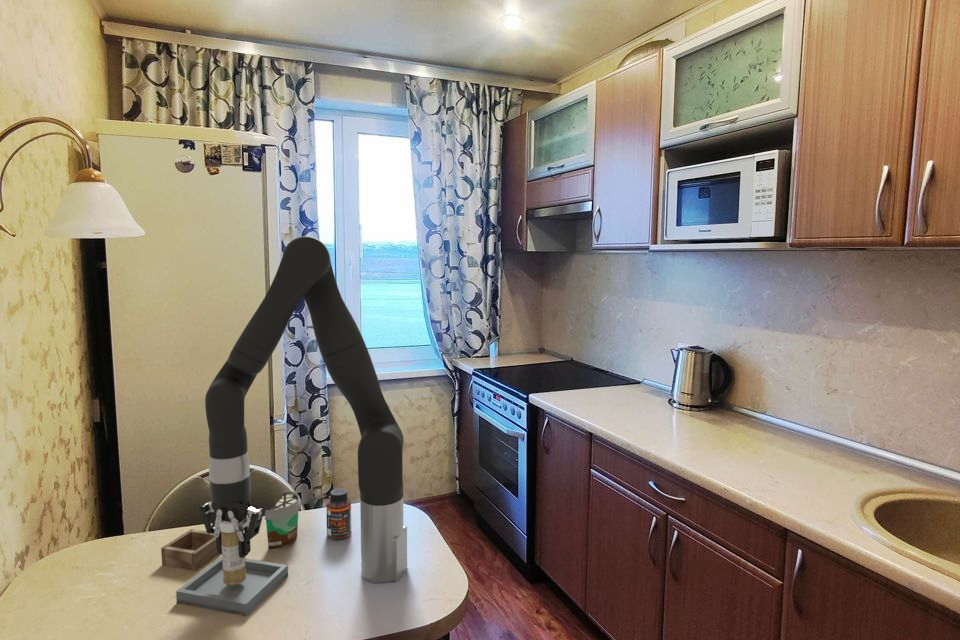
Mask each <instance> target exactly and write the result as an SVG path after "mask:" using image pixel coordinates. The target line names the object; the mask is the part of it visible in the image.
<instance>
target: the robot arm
mask: <svg viewBox="0 0 960 640" xmlns="http://www.w3.org/2000/svg"><path fill="white" fill-rule="evenodd" d="M331 261H332V260H331V255H330V252H329V249H328V247H326V245H325V244H324V243H323V242H322V241H321V240H319V239H318V238H316V237H314V236H307V235H306V236H298V237H296V238H294V239H292V240H291V241H290V242H288V244H286V246H285V248H284V250H283V253H282V257H281V261H280V262H279V265H278V268H277V271H276V273H275V275H274V278H273V280H272V283H271V284H270V287H269V288H268V290H267V291H266V294H265V296H264V298H263V299H262V301H261V303H260V304H259V306H258V307H257V308H256V311H255V312H254V313H253V315H252V317H251V318H250V320H249V321H248V323H247V325H246V326H245V328H244V329H243V331H242V332H241V334H240V335H239V337H238V338H237V340H236V342H235V344H234V345H233V347H232V349H231V351H230V353H229V355H228V358H227V359H226V361H225V363H224V364H223V365H222V367H221V368H220V370H219V371H218V372H217V374H216V375H215V377H214V379H213V380H212V381H211V383H210V385H209V387H208V389H207V391H206V393H205V398H204V403H205V407H204V408H205V414H206V417H205V418H206V421H207V427H208V432H209V433H208V448H209V449H208V451H209V461H208V479H209V495H210V496H209V497H210V500H211V501H210V500H209V501H207V502H206V503H204V504H202V505H201V506H199V511H200V515H201V518H202V523H203V525H204V528H205V531H206V532H207V533H208V534H210V533H212V534H214V536H215V537H216V548H217V551H218V555H221V556H222V539H221V531H220V523H221V522H222V521H228V522H232V524H233V528H234V531H236V532H237V535H238V538H239V540H240V541H239V557H240V558H244V557H247V556H248V555H249V554H250V552H251V550H252V549H251V547H252V546H251V540H252V539H253V538H254V537H256V536H257V535H258V534H259V533H260V529H261V524H262V521H263V518H264V514H265V509H264V508H262V507H260V508H257V509H256V508H255V507H253V506H252V503H251V502H250V495H251V490H252V489H251V488H252V487H251V471H250V470H251V467H250V464H251V463H250V458H249V453H248V452H249V451H248V434H247V428H246V426H245V398H246V396H247V393H248V391H249V390H250V388H251V387H252V385H253V383H254V381H255V379H256V377H257V375H258V374H259V373H261V371H263V369H264V368H265V366H266V364H267V363H268V362H269V359H270V358H271V357H272V355H273V353H274V352H275V350H276V348H277V346H278V344H279V342H280V340H281V338H282V337H283V335H284V333H285V330H286V329H287V327H288V325H289V322H290V320H291V318H292V316H293V314H294V313H295V311H296V309H297V307H298V306H299V305H300V303H301V301H302V300H304V302H305V304H306V307H307V309H308V311H309V315H310V319H311V320H310V321H311V324H312V328H313V333H314V337H315V340H316V343H317V346H318V350H319V352H320V355H321V357H322V360H323V363H324V365H325V367H326V369H327V372H328V374H329V376H330V378H331V380H332V382H333V383H334V385H335V386H336V387H337V389H338V390H339V391H340V393H341V394H342V395H343V397H344V398H345V400H346V401H347V402H348V404H349V405H350V408H351V409H352V413H353V415H354V416H355V421H356V422H357V426H358V429H359V433H360V434H359V435H360V437H361V438H360V440H359V442H358V443H359V444H358V448H357V473H358V474H357V477H358V489H359V498H360V501H359V502H360V503H359V504H360V505H359V506H360V557H361V558H360V560H361V562H360V568H361V576H362V578H363V579H365V580H366V581H369V582H371V583H376V584H377V583H380V584H381V583H387V582H388V583H389V582H397V581H399V579H400V578H401V577H402V575H403V574H404V572H405V570H406V569H407V568H408V527H407V526H405V525H404V524H405V523H404V478H403V477H404V476H403V474H404V473H403V466H404V465H403V449H404V441H405V440H404V435H403V431H402V430H401V427H400V425H399V424H398V421H396V418H395V417H394V415H393V413H392V411H391V409H390V406H389V405H388V402H386V399H385V397H384V395H383V391H382V389H381V385H380V382H379V378H378V375H377V372H376V370H375V365H374V363H373V360H372V357H371V355H370V352H369V350H368V347H367V345H366V342H365V340H364V337H363V336H362V335H363V334H362V333H361V331H360V328H359V327H358V325H357V323H356V321H355V318H354V317H353V315H352V313H351V312H350V310H349V308H348V307H347V305H346V303H345V301H344V300H343V297H342V295H341V291H340V290H339V286H338V284H337V280H336V277H335V272H334V269H333V266H332V262H331ZM243 520H244V523H243V524H241V525H239V523H240V522H242V521H243ZM243 529H244V532H243Z"/></svg>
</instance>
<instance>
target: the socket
mask: <svg viewBox="0 0 960 640" xmlns="http://www.w3.org/2000/svg"><path fill="white" fill-rule="evenodd" d="M192 548H193V549H195V550H193V549H192ZM160 554H161V566H166V567H172V568H178V569H182V570H187V571H188V570H189V571H193V572H194V571H195V572H197V571H198V570H199V569H201V568H203V567H204V566H205V565H206V564H208V563H209V562H210V561H212V560H213V559H215V558H216V557H217V556H218V555H219V554H218V551H217V548H216V537H215V536H214V534H212V533H210V534H208V533H207V532H206V530H200V529H193V528H191V529H188V530H187V531H186V532H184V533H183V534H181V535H180V536H178V537H176V538H175V539H173V540H171V541H170V542H168V543H167V544H165V545H163V546H162V547H160Z"/></svg>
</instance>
